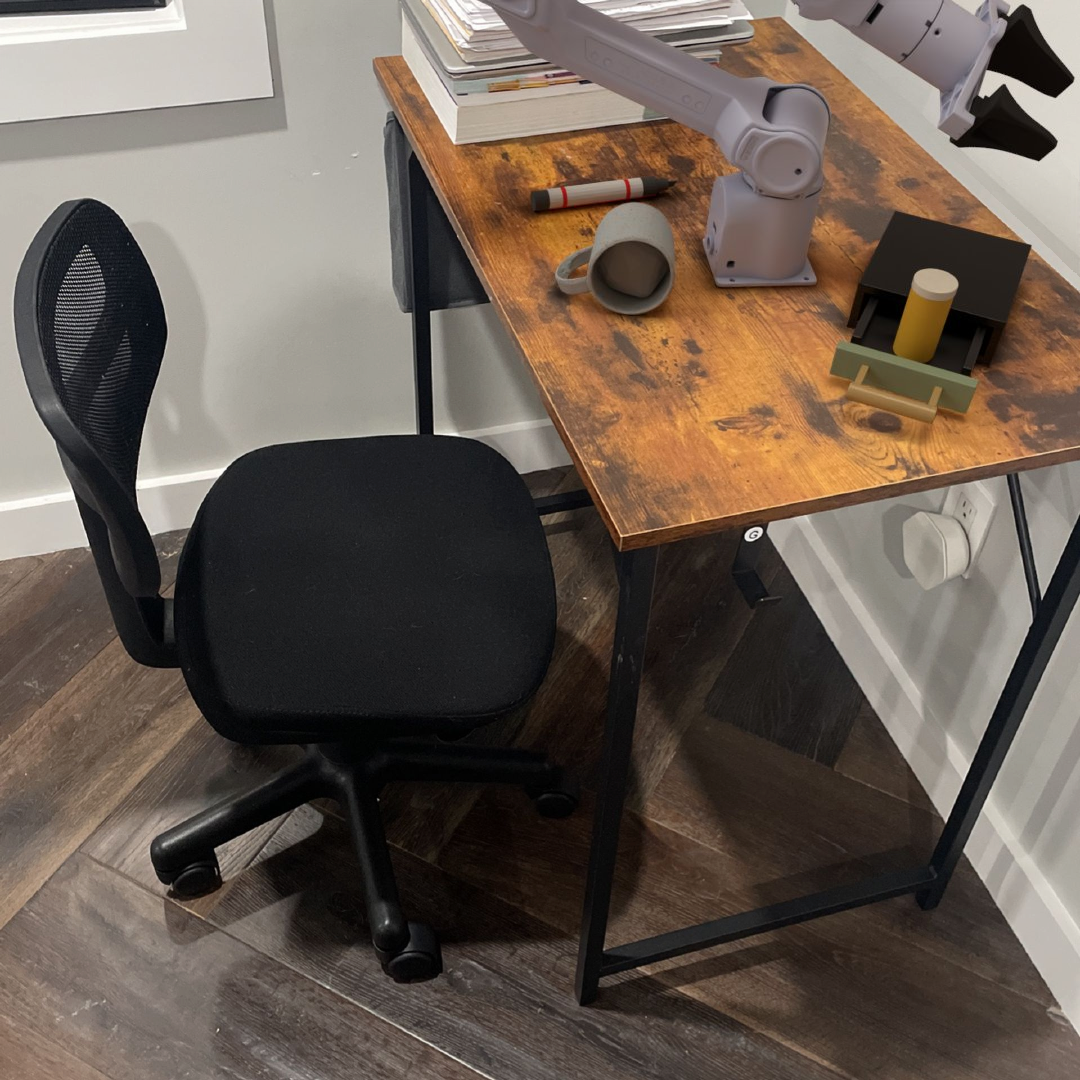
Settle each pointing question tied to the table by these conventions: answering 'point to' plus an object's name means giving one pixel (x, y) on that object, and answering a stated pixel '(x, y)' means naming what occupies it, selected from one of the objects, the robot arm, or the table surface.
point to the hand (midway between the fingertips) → (1056, 119)
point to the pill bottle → (925, 314)
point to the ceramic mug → (625, 261)
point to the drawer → (908, 364)
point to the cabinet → (966, 254)
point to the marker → (598, 192)
